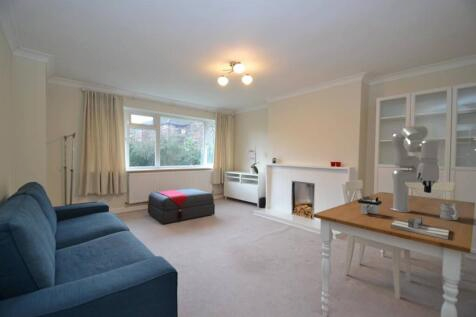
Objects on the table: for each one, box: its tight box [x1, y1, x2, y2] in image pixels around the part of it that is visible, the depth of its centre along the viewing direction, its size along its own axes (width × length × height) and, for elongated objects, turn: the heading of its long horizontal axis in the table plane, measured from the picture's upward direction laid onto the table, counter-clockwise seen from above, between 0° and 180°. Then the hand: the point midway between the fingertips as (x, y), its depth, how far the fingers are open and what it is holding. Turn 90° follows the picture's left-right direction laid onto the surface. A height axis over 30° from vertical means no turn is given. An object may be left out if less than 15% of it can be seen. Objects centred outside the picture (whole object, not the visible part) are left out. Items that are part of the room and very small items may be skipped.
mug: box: [438, 202, 459, 221], centre depth 151 cm, size 8×12×12 cm, turn 176°
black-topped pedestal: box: [357, 195, 382, 215], centre depth 165 cm, size 28×26×13 cm
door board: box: [390, 217, 450, 240], centre depth 132 cm, size 18×25×6 cm
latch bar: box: [414, 216, 423, 228], centre depth 132 cm, size 13×3×4 cm, turn 133°
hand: (427, 192), depth 133 cm, fingers closed
